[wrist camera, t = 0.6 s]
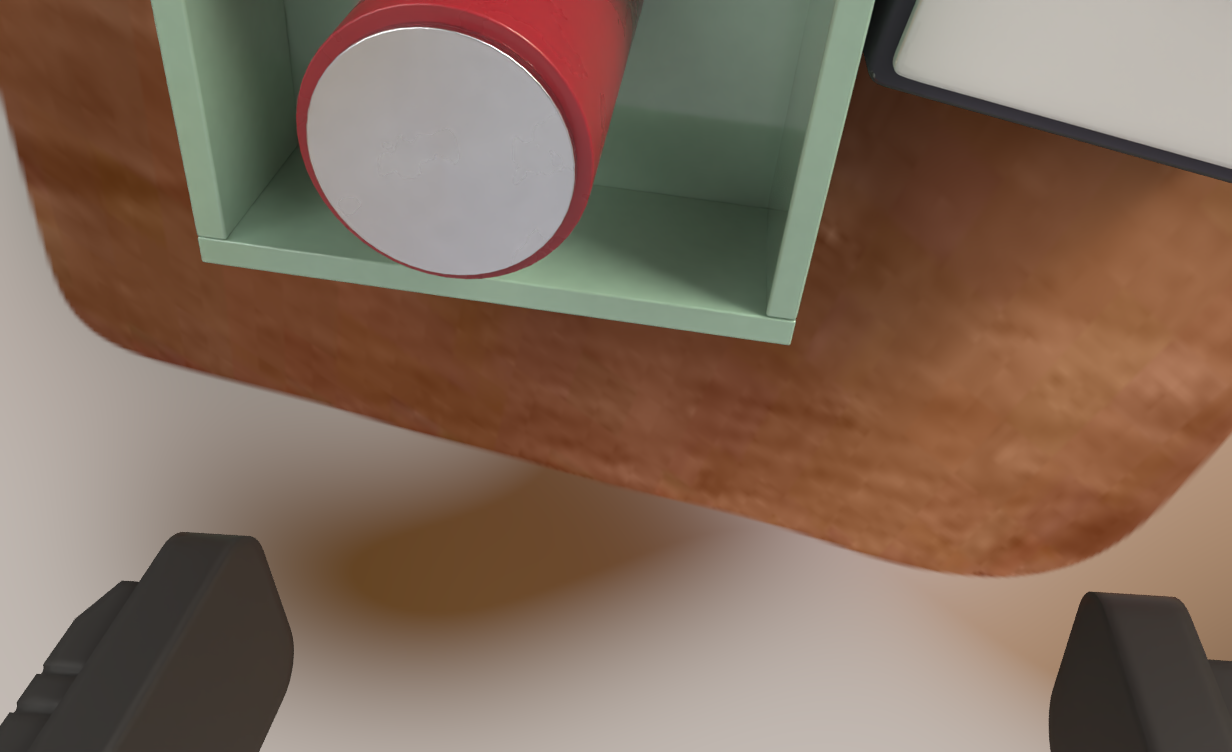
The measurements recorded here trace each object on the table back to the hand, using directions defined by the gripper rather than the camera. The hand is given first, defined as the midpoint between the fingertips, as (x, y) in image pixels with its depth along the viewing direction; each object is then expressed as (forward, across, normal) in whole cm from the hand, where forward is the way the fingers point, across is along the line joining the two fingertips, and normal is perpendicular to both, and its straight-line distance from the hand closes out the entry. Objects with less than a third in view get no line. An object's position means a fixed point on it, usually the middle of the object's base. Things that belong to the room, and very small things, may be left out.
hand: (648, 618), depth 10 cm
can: (+21, +5, -1) cm, 21 cm away
